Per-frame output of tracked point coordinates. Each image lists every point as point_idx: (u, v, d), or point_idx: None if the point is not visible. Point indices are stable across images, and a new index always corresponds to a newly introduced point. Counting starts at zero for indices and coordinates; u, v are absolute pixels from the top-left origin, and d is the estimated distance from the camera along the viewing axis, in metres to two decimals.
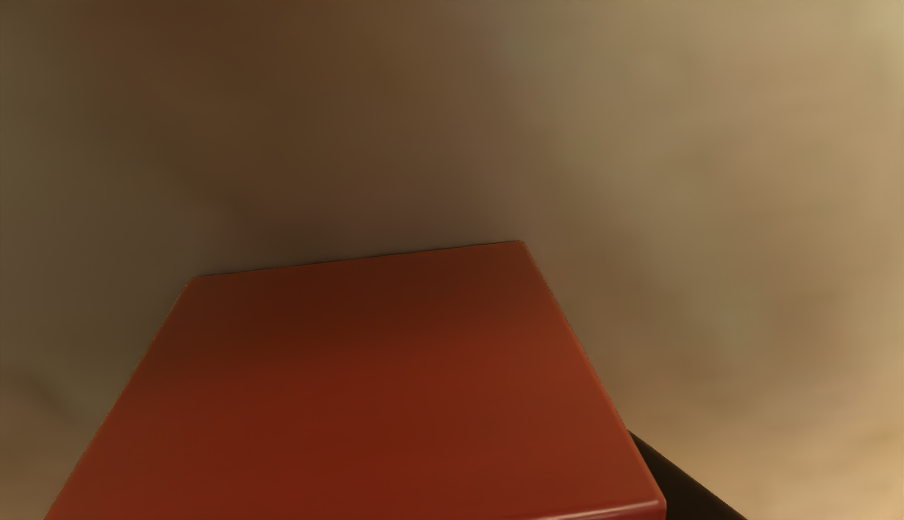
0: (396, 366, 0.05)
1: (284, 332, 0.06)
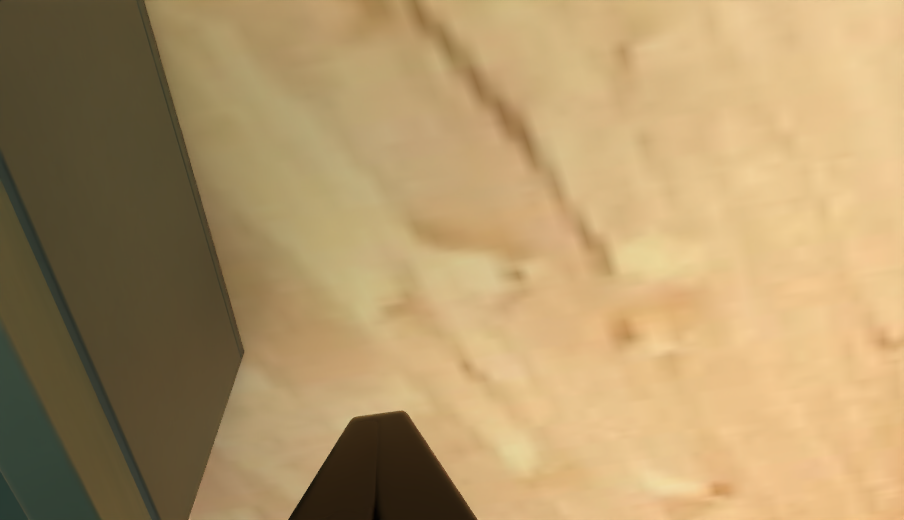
0: None
1: None
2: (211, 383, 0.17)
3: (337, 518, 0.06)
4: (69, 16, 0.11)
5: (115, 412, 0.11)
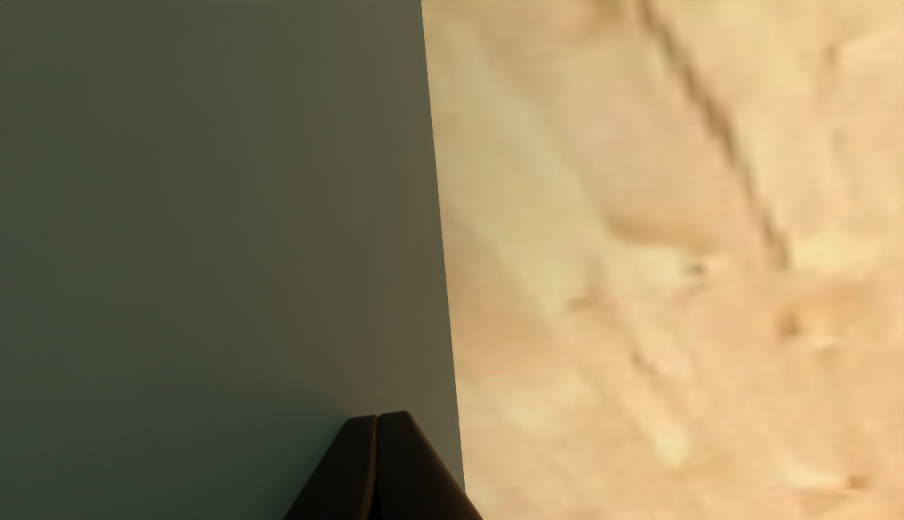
0: None
1: None
2: None
3: (331, 519, 0.06)
4: None
5: None
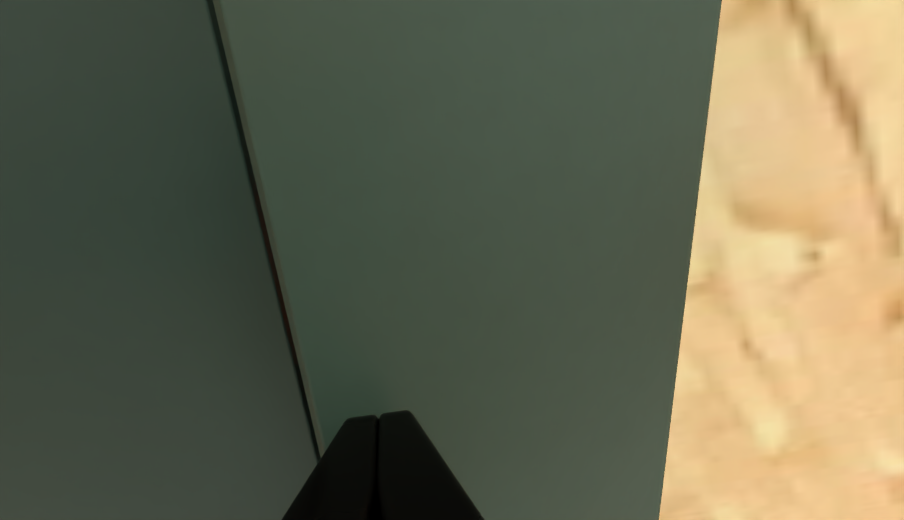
0: None
1: None
2: None
3: (330, 519, 0.06)
4: None
5: None
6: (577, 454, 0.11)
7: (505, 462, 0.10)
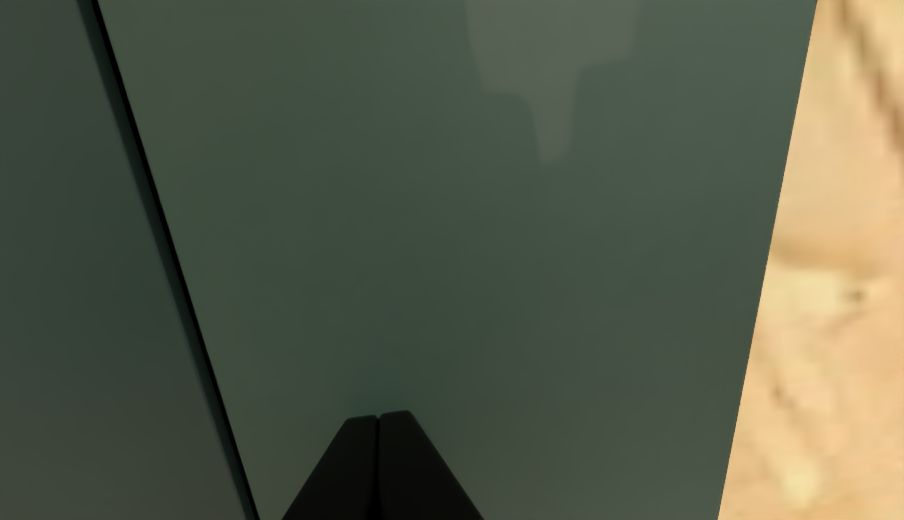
0: None
1: None
2: None
3: (330, 519, 0.06)
4: None
5: None
6: None
7: None
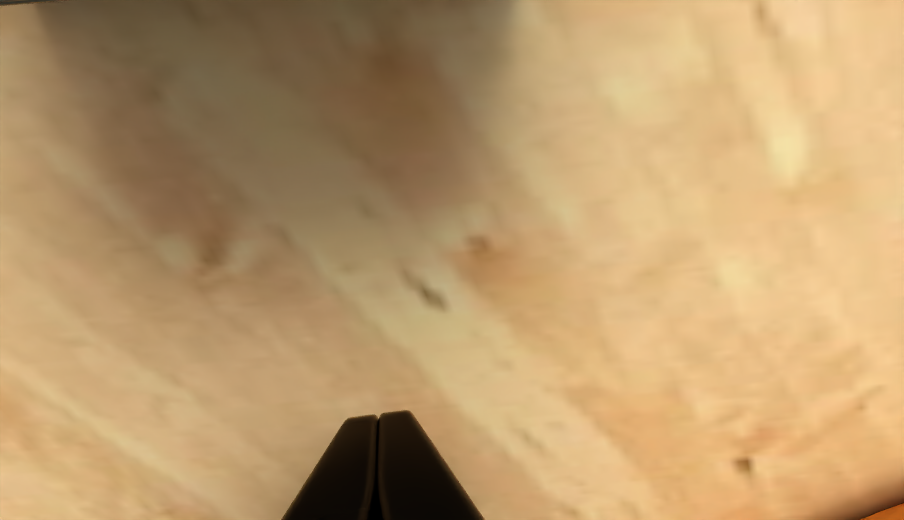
0: None
1: None
2: None
3: (330, 519, 0.06)
4: None
5: None
6: None
7: None
